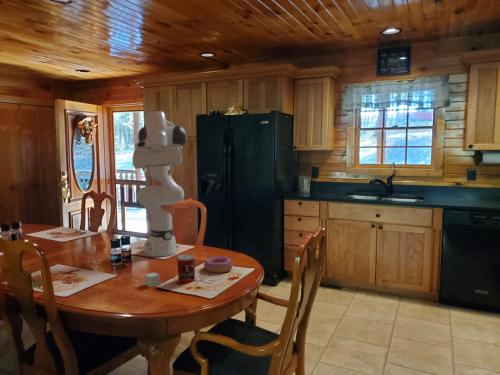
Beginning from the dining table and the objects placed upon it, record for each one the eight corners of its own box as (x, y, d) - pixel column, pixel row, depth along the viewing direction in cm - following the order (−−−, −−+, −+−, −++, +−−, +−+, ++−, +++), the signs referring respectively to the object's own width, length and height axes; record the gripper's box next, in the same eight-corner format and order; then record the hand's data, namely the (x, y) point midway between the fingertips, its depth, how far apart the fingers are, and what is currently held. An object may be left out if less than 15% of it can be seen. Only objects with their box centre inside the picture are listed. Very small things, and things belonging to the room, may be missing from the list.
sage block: (145, 284, 168) (144, 274, 167) (154, 282, 171) (154, 272, 170) (150, 287, 164) (149, 277, 164) (159, 284, 167) (159, 274, 167)
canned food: (178, 284, 167) (178, 260, 166) (177, 277, 175) (176, 255, 174) (196, 282, 169) (195, 258, 168) (193, 276, 177) (193, 253, 176)
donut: (219, 276, 177) (219, 265, 177) (198, 270, 186) (197, 260, 185) (238, 268, 188) (238, 258, 188) (217, 262, 197) (217, 253, 196)
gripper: (182, 146, 163) (184, 176, 159) (134, 150, 162) (135, 180, 157) (180, 140, 157) (182, 171, 153) (131, 144, 156) (131, 175, 151)
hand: (158, 175), depth 155 cm, fingers open, 8 cm apart
